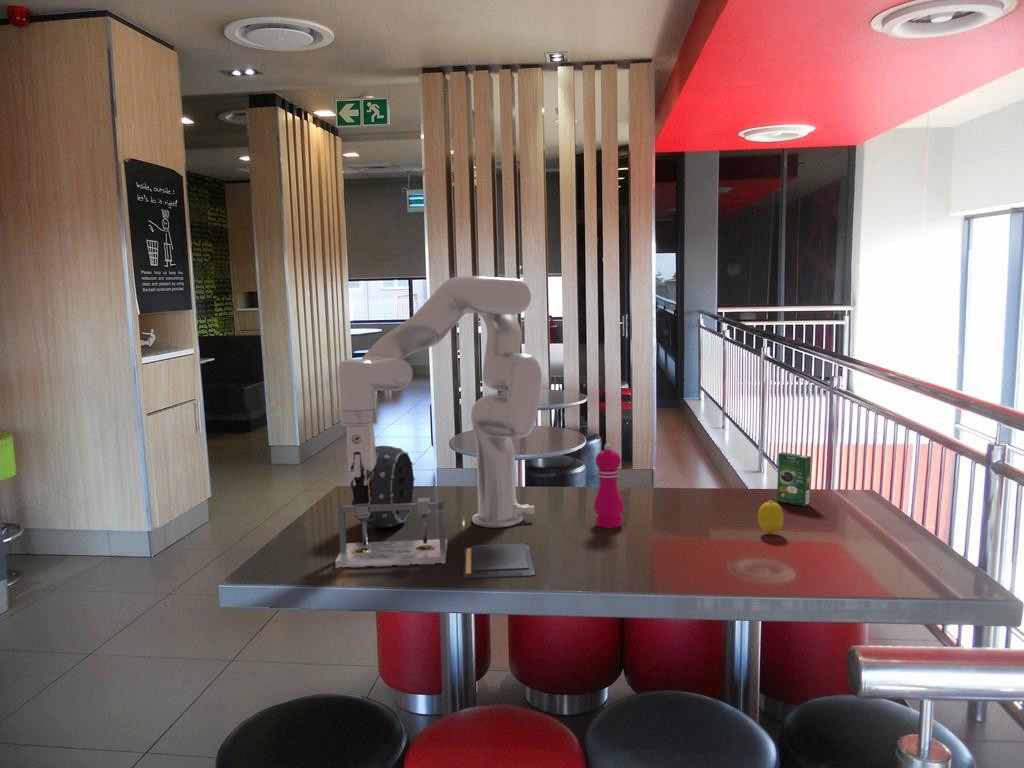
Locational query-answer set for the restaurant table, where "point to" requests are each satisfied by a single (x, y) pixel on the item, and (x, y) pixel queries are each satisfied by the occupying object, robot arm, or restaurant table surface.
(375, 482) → the ring
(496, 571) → the dark grey flat slab
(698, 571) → the restaurant table surface
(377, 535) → the restaurant table surface
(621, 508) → the pepper mill
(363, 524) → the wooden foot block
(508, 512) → the robot arm
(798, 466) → the coffee box
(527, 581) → the restaurant table surface
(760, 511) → the lemon
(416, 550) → the switch panel
